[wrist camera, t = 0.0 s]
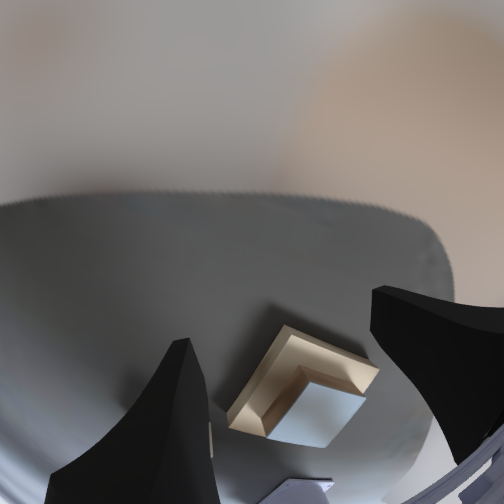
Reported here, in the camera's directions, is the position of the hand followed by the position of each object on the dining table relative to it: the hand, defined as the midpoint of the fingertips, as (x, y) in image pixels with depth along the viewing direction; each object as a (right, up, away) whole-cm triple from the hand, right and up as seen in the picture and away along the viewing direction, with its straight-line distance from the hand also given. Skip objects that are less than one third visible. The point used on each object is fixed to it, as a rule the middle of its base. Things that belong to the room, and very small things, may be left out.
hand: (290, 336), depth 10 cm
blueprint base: (+3, -9, +13) cm, 16 cm away
